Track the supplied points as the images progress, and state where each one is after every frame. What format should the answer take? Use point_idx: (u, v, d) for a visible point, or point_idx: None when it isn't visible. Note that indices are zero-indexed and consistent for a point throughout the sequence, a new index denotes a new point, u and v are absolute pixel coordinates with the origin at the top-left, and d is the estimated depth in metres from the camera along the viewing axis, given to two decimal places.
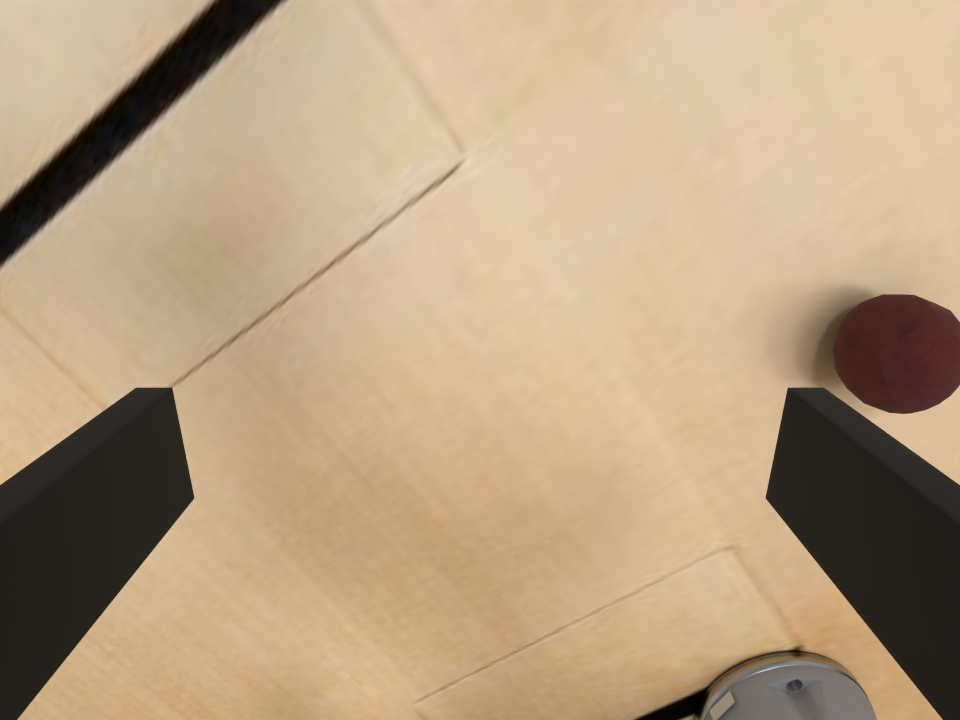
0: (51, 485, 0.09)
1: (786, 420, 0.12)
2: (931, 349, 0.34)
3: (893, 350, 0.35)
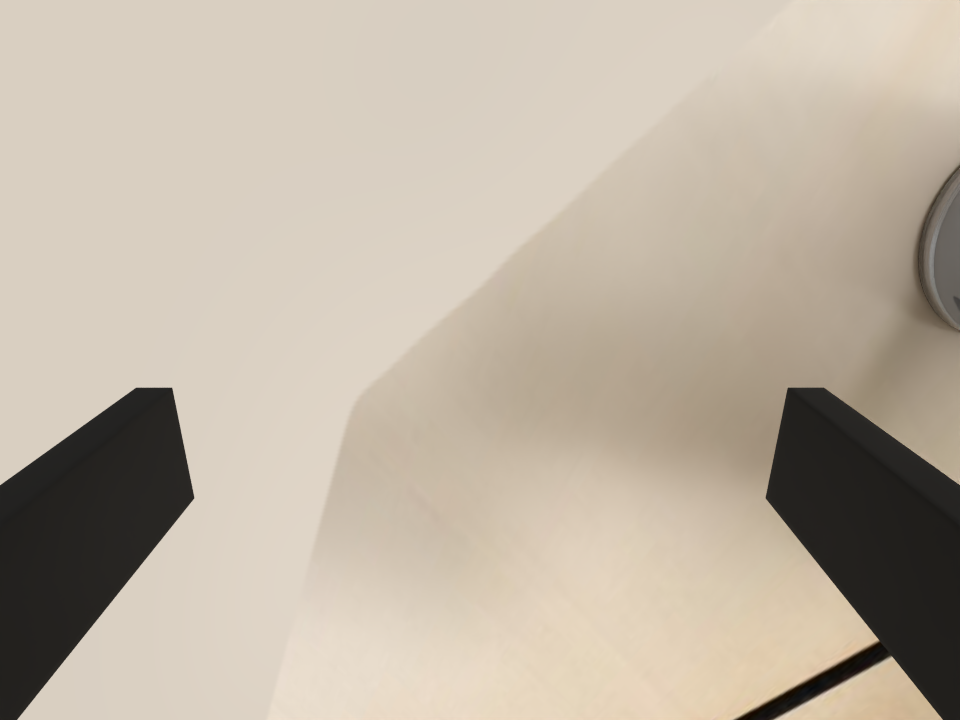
0: (51, 485, 0.09)
1: (786, 420, 0.12)
2: None
3: None
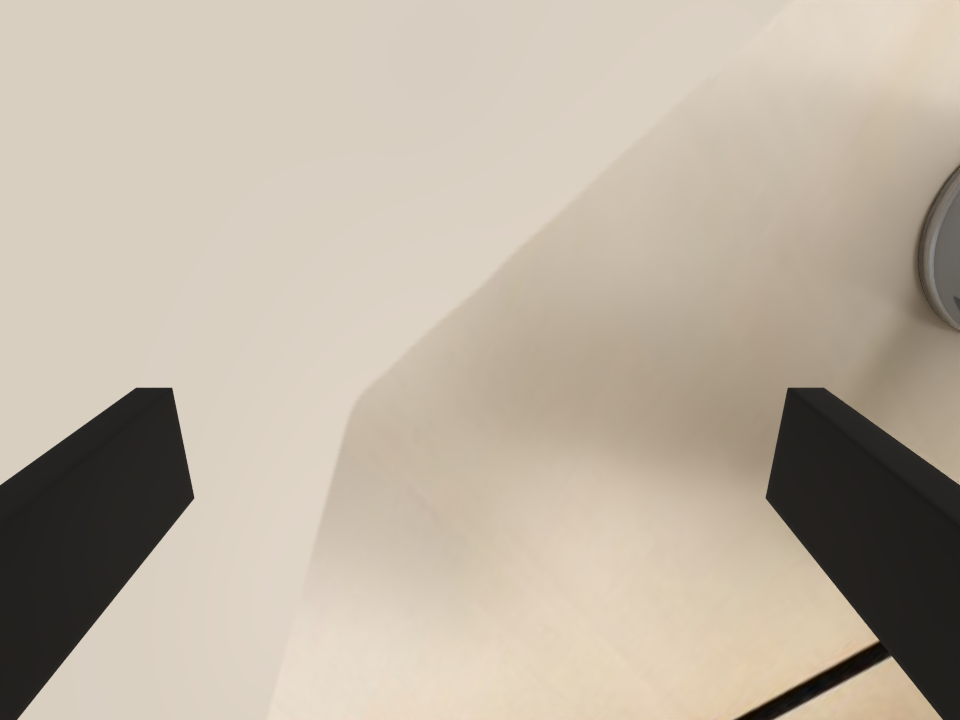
0: (51, 485, 0.09)
1: (786, 420, 0.12)
2: None
3: None
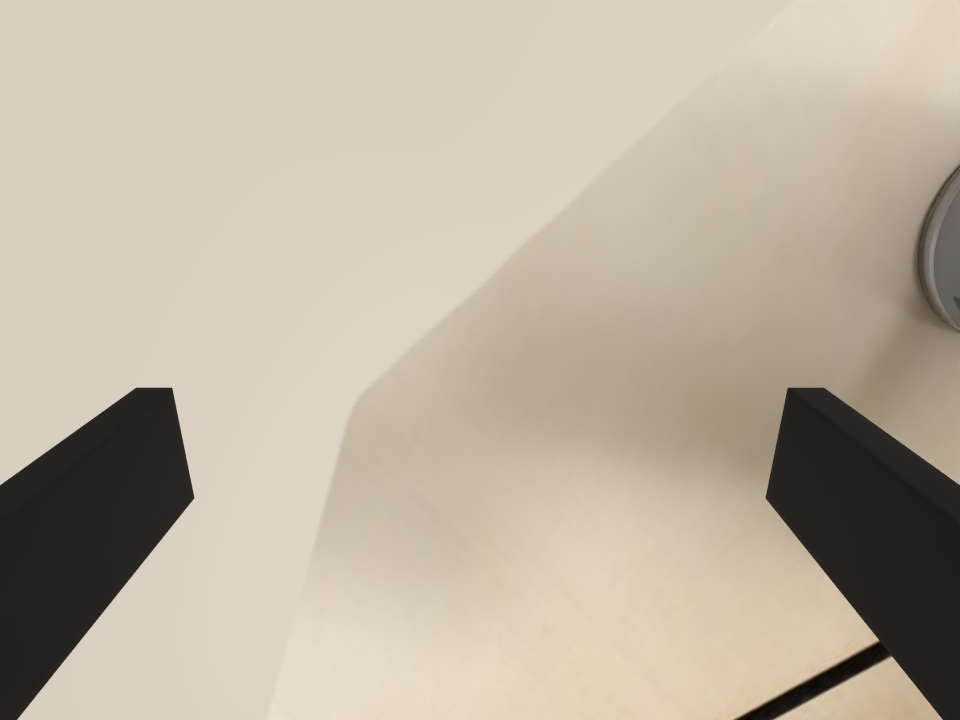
0: (51, 485, 0.09)
1: (786, 420, 0.12)
2: None
3: None
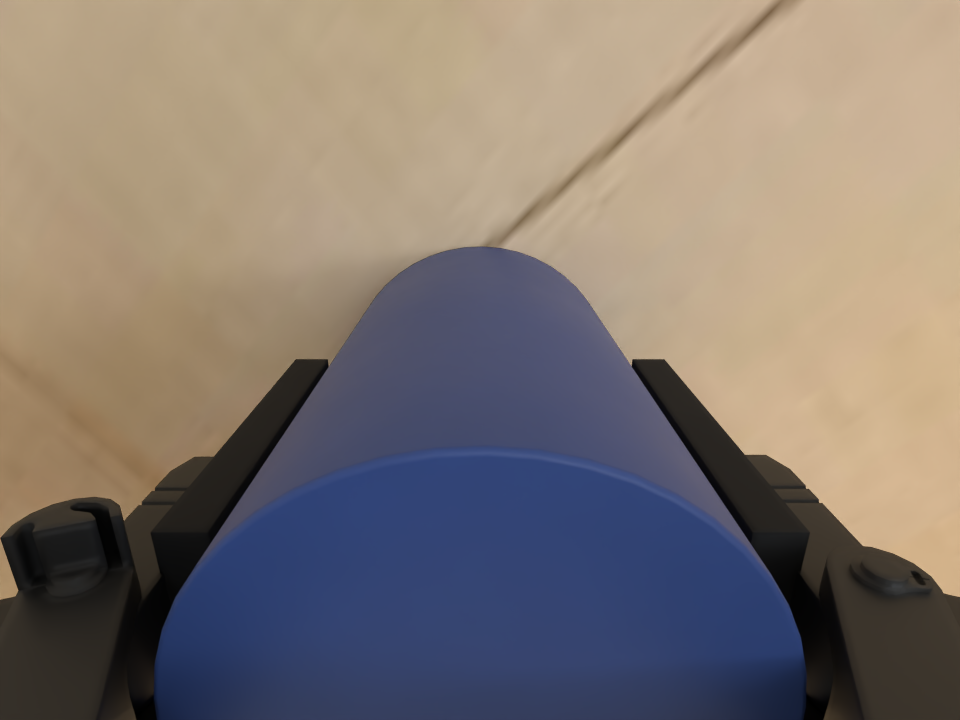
0: (277, 432, 0.10)
1: None
2: None
3: None
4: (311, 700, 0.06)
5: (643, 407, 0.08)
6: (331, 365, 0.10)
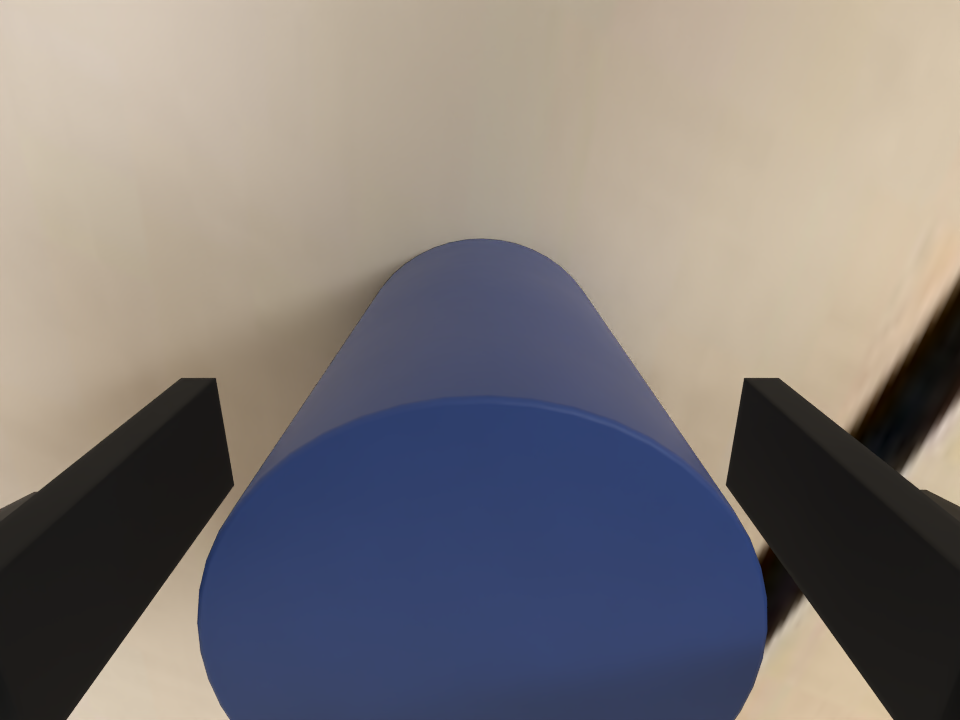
0: (117, 466, 0.09)
1: (743, 409, 0.13)
2: None
3: None
4: (335, 624, 0.07)
5: (627, 375, 0.09)
6: (344, 344, 0.11)
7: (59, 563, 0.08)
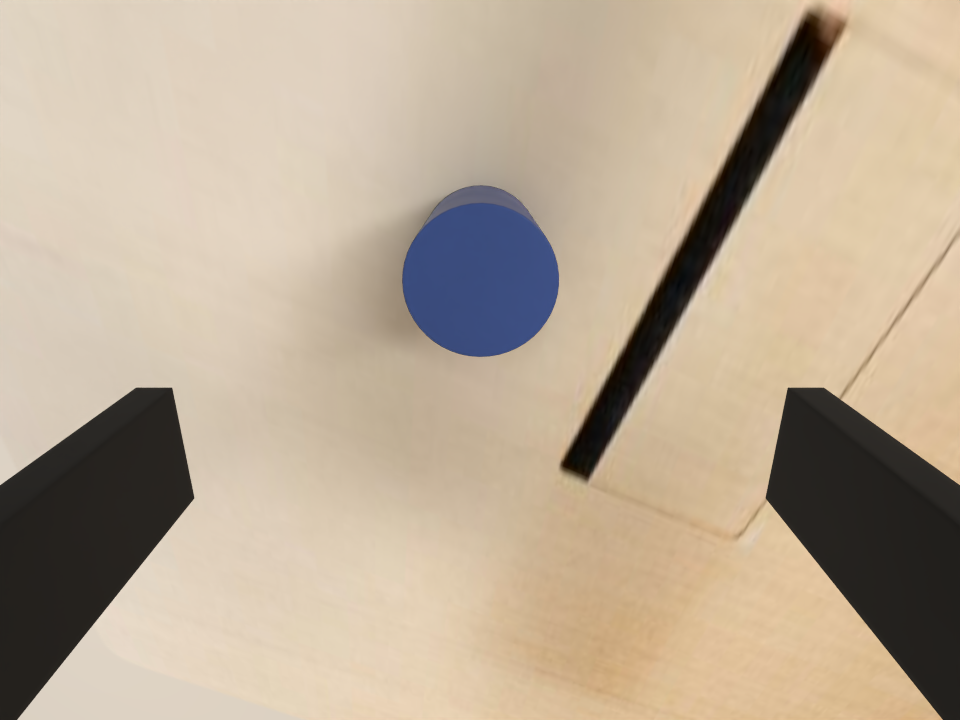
0: (51, 485, 0.09)
1: (786, 420, 0.12)
2: None
3: None
4: (440, 272, 0.27)
5: (525, 213, 0.28)
6: None
7: None
